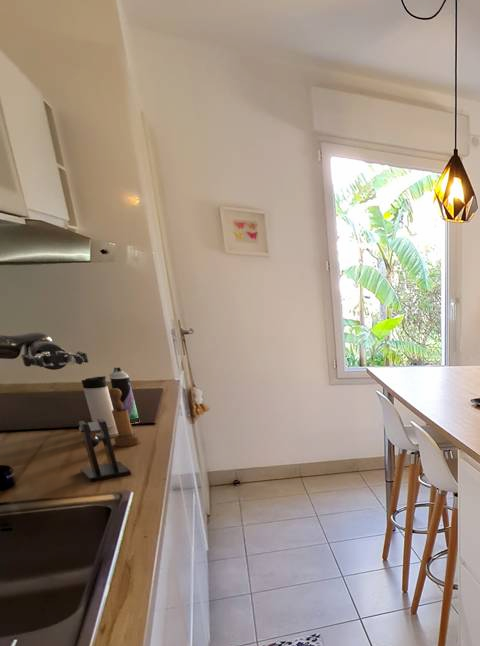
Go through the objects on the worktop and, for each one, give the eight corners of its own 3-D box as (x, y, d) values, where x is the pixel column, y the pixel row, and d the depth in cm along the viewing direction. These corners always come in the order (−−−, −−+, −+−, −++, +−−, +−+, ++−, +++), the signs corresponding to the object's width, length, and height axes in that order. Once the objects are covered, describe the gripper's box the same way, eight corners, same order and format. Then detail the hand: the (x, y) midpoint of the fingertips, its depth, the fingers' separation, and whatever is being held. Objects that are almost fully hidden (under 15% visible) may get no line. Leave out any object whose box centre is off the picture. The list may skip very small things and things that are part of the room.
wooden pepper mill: (112, 444, 176) (97, 388, 170) (135, 439, 181) (122, 385, 175) (120, 448, 173) (106, 391, 166) (144, 443, 178) (130, 388, 171)
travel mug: (114, 438, 182) (99, 378, 174) (92, 438, 181) (75, 378, 173) (124, 433, 187) (110, 374, 180) (103, 433, 186) (87, 374, 179)
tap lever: (84, 450, 154) (80, 438, 154) (100, 448, 157) (95, 436, 157) (88, 433, 144) (83, 420, 144) (104, 431, 147) (100, 418, 147)
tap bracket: (81, 472, 152) (66, 420, 146) (120, 465, 158) (107, 415, 153) (91, 482, 145) (75, 428, 140) (131, 474, 151) (118, 422, 146)
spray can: (123, 425, 197) (109, 369, 190) (119, 422, 201) (105, 367, 193) (141, 422, 201) (128, 367, 194) (137, 420, 204) (124, 365, 197)
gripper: (13, 343, 157) (23, 349, 148) (75, 341, 168) (88, 346, 158) (21, 370, 160) (31, 377, 150) (82, 365, 170) (95, 372, 160)
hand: (60, 361), depth 154 cm, fingers open, 8 cm apart
